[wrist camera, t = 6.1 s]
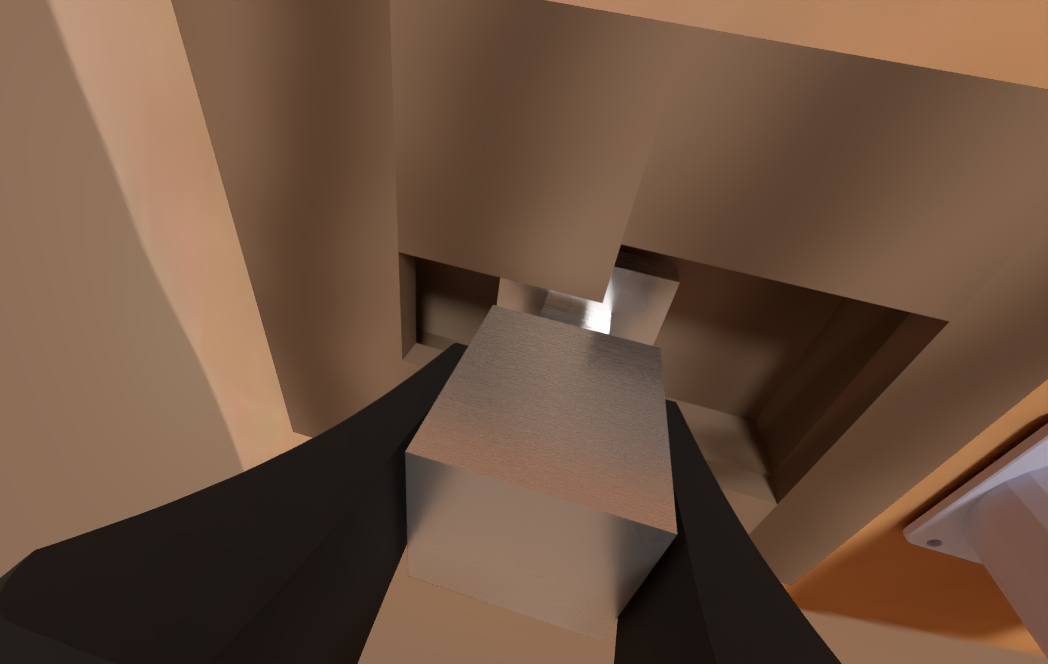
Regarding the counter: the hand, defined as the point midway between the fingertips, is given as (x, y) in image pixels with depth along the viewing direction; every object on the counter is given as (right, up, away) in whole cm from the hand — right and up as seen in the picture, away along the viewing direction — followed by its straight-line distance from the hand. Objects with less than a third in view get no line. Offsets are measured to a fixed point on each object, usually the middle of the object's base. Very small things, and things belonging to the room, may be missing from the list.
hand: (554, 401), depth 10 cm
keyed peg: (+1, +2, +4) cm, 5 cm away
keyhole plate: (+1, +3, +5) cm, 6 cm away
